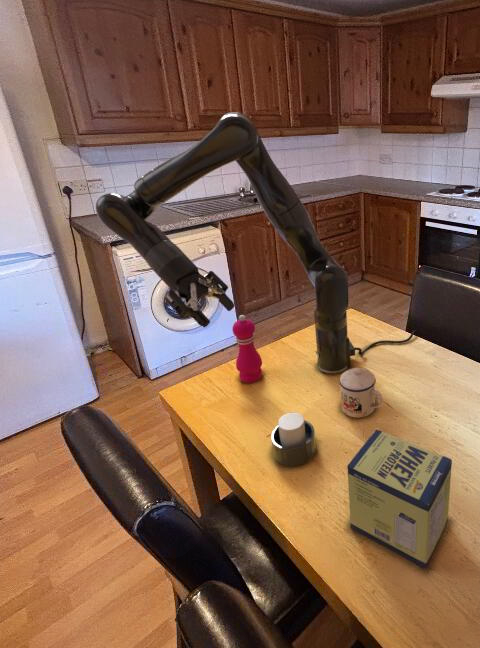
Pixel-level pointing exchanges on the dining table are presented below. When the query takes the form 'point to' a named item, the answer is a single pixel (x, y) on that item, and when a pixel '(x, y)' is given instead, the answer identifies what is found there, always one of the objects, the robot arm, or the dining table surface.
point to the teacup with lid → (359, 392)
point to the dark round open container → (296, 454)
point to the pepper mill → (247, 351)
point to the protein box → (399, 496)
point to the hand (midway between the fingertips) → (220, 316)
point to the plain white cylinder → (292, 430)
